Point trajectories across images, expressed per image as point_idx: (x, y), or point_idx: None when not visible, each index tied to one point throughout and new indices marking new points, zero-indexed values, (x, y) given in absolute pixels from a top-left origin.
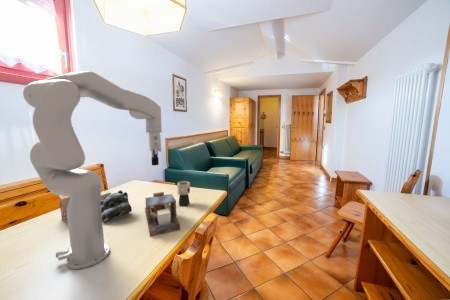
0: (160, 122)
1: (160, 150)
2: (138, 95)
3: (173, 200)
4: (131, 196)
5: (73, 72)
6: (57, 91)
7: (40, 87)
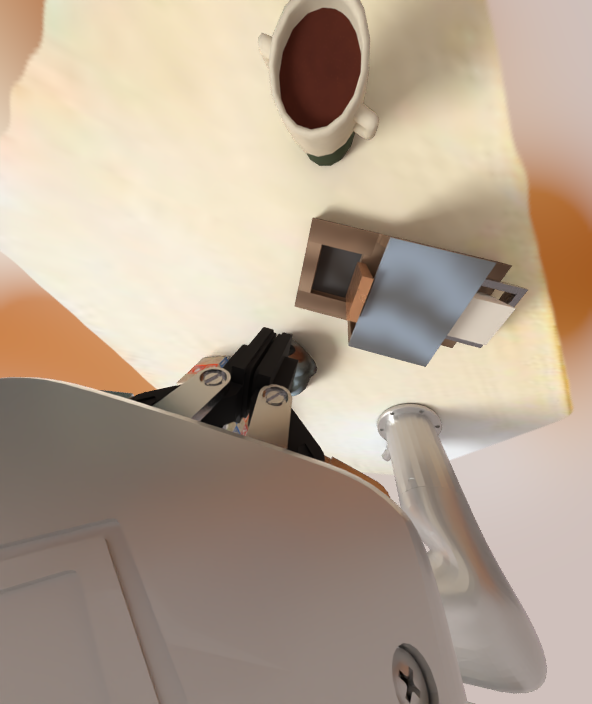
0: None
1: (419, 546)
2: None
3: (481, 271)
4: (155, 295)
5: None
6: None
7: None
